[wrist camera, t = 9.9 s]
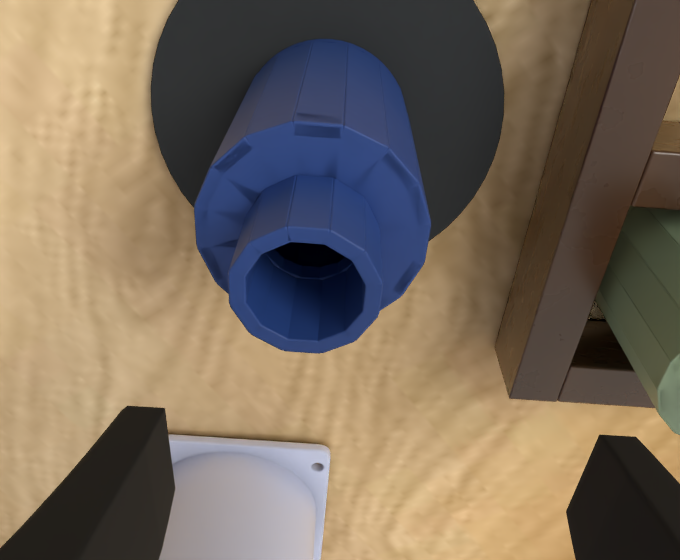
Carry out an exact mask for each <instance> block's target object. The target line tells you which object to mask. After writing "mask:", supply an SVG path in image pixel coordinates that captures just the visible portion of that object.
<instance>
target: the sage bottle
mask: <svg viewBox="0 0 680 560" xmlns="http://www.w3.org/2000/svg"><path fill="white" fill-rule="evenodd" d="M595 301H596V303H597V304H598V306H599V308H600V310H601V311H602V313H603V315H604V317H605V319H606V320H607V322H608V324H609V326H610V328H611V329H612V331H613V333H614V335H615V337H616V338H617V340H618V342H619V344H620V346H621V347H622V349H623V351H624V353H625V354H626V356H627V358H628V360H629V362H630V363H631V365H632V367H633V369H634V371H635V372H636V374H637V376H638V378H639V380H640V381H641V383H642V385H643V387H644V389H645V390H646V392H647V394H648V396H649V397H650V399H651V401H652V403H653V405H654V406H655V408H656V410H657V412H658V414H659V415H660V416H661V417H662V419H663V420H664V421H665V422H666V424H667V425H668V426H669V427H670V429H671V430H672V431H673V432H674V433H676V434H678V435H680V210H669V209H656V208H643V207H632V206H631V205H630V208H629V211H628V213H627V216H626V219H625V221H624V224H623V226H622V229H621V232H620V234H619V237H618V240H617V242H616V245H615V248H614V250H613V253H612V256H611V258H610V261H609V264H608V266H607V269H606V272H605V274H604V277H603V279H602V282H601V285H600V287H599V290H598V293H597V295H596V298H595Z"/></svg>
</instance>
